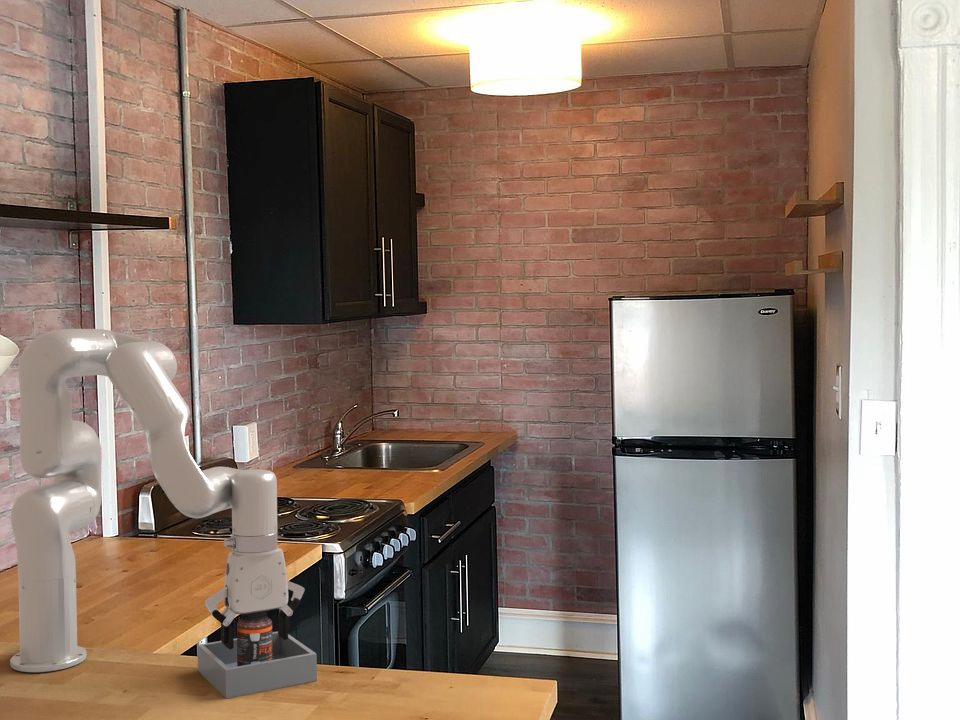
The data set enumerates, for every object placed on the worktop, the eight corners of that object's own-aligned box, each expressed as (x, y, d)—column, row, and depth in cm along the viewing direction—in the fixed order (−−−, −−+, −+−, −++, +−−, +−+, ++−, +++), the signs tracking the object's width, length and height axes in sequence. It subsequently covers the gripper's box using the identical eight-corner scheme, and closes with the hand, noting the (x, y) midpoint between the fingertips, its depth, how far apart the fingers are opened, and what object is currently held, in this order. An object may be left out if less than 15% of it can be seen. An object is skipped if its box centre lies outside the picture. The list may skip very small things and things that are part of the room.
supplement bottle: (264, 679, 173) (263, 612, 173) (231, 677, 174) (230, 610, 174) (278, 667, 179) (277, 603, 179) (246, 665, 180) (245, 601, 180)
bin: (198, 671, 179) (197, 644, 179) (283, 655, 188) (283, 630, 187) (226, 698, 166) (225, 670, 166) (316, 680, 174) (316, 653, 174)
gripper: (211, 553, 168) (212, 657, 169) (311, 541, 177) (312, 639, 178) (198, 544, 175) (199, 645, 175) (294, 533, 184) (295, 628, 184)
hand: (256, 642), depth 177 cm, fingers open, 9 cm apart
